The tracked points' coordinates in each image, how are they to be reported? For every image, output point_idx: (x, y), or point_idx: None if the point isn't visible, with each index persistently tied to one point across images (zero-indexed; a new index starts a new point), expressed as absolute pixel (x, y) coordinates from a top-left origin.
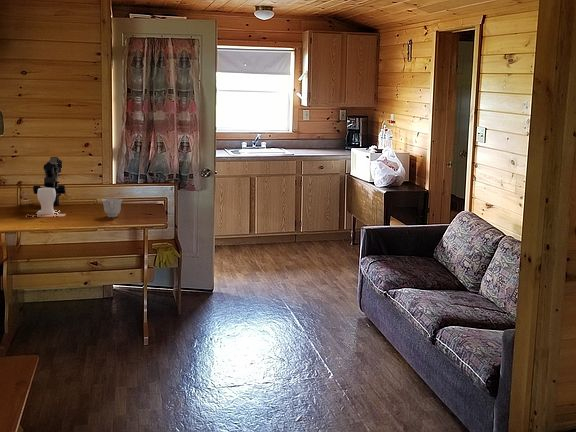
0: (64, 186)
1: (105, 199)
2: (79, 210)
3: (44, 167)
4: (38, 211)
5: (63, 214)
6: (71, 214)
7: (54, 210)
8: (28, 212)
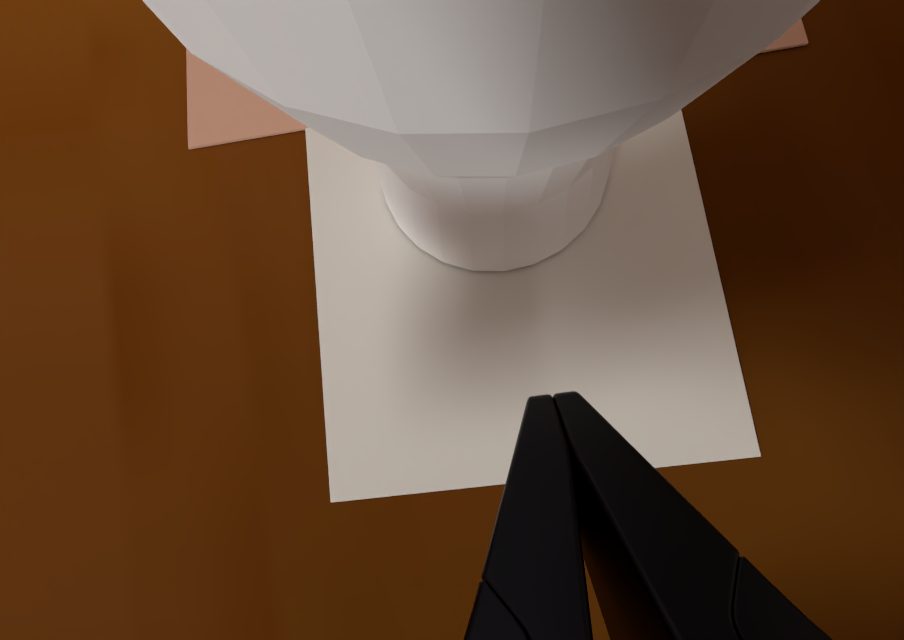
0: None
1: None
2: (5, 497)
3: None
4: (722, 349)
5: (218, 92)
6: (107, 122)
7: (440, 469)
8: (890, 262)
